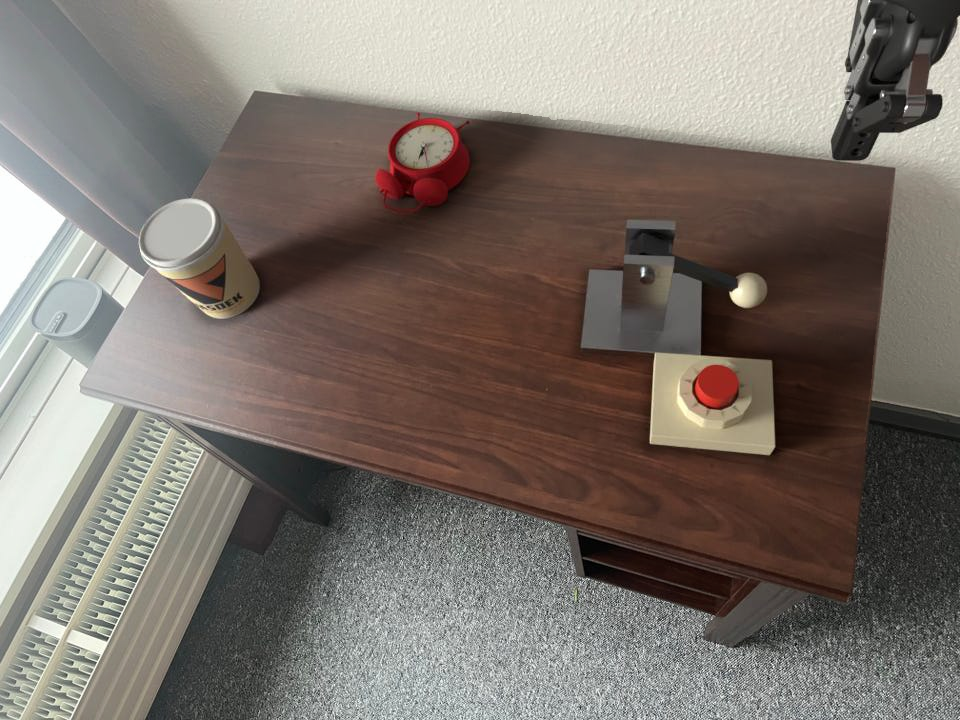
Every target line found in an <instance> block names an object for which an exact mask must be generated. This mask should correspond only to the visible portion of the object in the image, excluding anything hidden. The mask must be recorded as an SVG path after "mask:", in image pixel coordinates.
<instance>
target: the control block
mask: <svg viewBox="0 0 960 720" xmlns="http://www.w3.org/2000/svg"><path fill="white" fill-rule="evenodd" d="M710 365H723V366H726V367H728V368H730V369H731V370H732V371H733V372H734V373H735V374H736V376H737V378H738V381H739V386H738V390H737V392H736V394H735V397H734V399H733V401H732V402H731V403H730V404H729V405H727V406H725V407H722V408H711V407H708V406H706V405H704V404H703V403H701V402H700V401H699V399H698V398H697V396H696V393H695V385H696V382H697V379H698V375H699V373H700V372H701V371H702V370H703V369H704V368H705V367H707V366H710ZM652 370H653V371H652V389H651V408H650V427H649V428H650V429H649V444H650V445H659V446H670V447H680V448H690V449H700V450H701V449H702V450H711V451H721V452H733V453H734V452H735V453H742V454H743V453H744V454H754V455H764V456H771V454H772V453H773V451H774V450H775V448H776V428H775V427H776V426H775V404H774V402H775V401H774V376H773V373H774V372H773V360H771V359H760V358H759V359H757V358H743V357H728V356H715V355H702V354H701V355H686V354H671V353H657V352H656V353H655V358H653V369H652Z"/></svg>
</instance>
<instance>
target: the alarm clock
mask: <svg viewBox="0 0 960 720" xmlns="http://www.w3.org/2000/svg"><path fill="white" fill-rule="evenodd" d="M416 116H417V119H415V120H412V121H409V122H408V123H406V124H404V125H403V126H401V127H400V128H399V129H398V130H397V131H396V132H395V133H394V134H393V135H392V137H391V139H390V141H389V143H388V148H387V149H388V151H387V156H388V160H389V162H390V165H389V171H388V170H387V169H384V168H380V169H378V170H377V171H376V172H375V177H374V179H375V184H376V185H377V187H378V189H379V193H380V194H382V193H383V197H382V204H383V205H384V207H385V208H387V210H390V211H393V212H395V213H403V214H409V213H415V212H416V211H419V209H420V208H422V206H427V207H436V206H440V205H442V204H444V202H445V201H446V200H447V198H448V193H449V191H450V190H452V189H453V188H455V187H457V185H459V184H460V183H461V182H462V181H463V180H464V178H465V177H466V175H467V174H468V171H469V169H470V164H471V159H470V153H469V150H468V148H467V146H466V145H465V143H463V141H462V139H461V135H460V133H459V131H460V130H461V129H463V128H464V127H465V126H466V125H469V124H470V123H471V122H470V120H466V121H465V123H463V124H462V125H460V126H459V127H457V128H456V127H455V126H454V125H453V124H452V123H451V122H450V121H449V122H448V121H447V120H444V119H443V118H442V119H441V118H437V117H425V118H420V116H421V113H420V112H416ZM405 194H406V195H409V196H413V197H414V199H415V200H416V201H417V203H419V205H418V206H417V207H416V208H414V209H410V210H409V209H407V210H402V209H396V208H394V207H393V208H392V207H390V206H389V205H388V204H387V202H386V197H387V198H389V199H392V200H397V201H398V200H400V199H403V197H404V196H405Z"/></svg>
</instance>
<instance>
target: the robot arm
mask: <svg viewBox="0 0 960 720" xmlns="http://www.w3.org/2000/svg"><path fill="white" fill-rule="evenodd" d="M959 17H960V0H857V3H856V7H855V14H854V19H853V24H852V30H851V35H850V40H849V46H848V51H847V57H845V58H846V59H845V61H844V67H845V72H846V73H850V74H849V77H848V80H847V83H846V85H845V87H844V89H843V94H844V99H845V103H844V106H843V108H842V111H841V113H840V116H839V118H838V121H837V122H836V126H835V129H834V131H833V133H832V135H831V138H830V147H831V158H832V159H833V160H834V161H837V162H840V161H841V162H842V161H845V162H847V161H848V162H851V161H853V162H860V161H864V160H866V159H867V158H869V156H870V154H871V152H872V150H873V148H874V146H875V145H876V142H877V140H878V137H879V136H880V134H901V133H904V132H907V131H909V130H911V129H913V128H916V127H918V126H920V125H923V124H926V123H928V122H930V121H934V120H936V119H938V117H939V115H940V114H941V111H942V109H943V104H944V103H943V95H942V94H941V93H934V90H933V89H932V88H928V83H929V77H930V71H931V69H932V67H933V66H934V65H936V64H937V63H938V62H940V60H942V58H943V57H944V56H945V54H946V53H947V50H948V49H949V46H950V44H951V42H952V40H953V39H954V37H955V35H956V33H957V29H958V25H959V24H958V23H959V19H958V18H959Z"/></svg>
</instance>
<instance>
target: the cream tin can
mask: <svg viewBox="0 0 960 720" xmlns="http://www.w3.org/2000/svg"><path fill="white" fill-rule="evenodd" d="M138 247H139V252H140V255H141V257H142V260H144V262H145V263H146V264H147V265H148V266H150V267H151V268H153V269H155V270H156V271H157V272H158V273H159V274H160V275H161V276H162V277H163V278H164V279H165V280H166V281H168V282H169V283H170V284H171V285H172V286H174V288H176V289H177V290H178V291H179V292H180V293H181V294H182V295H184V297H186V299H188V300H189V301H190V302H191V303H193V304H194V305H195V306H196V307H197V308H198V309H200V310H201V311H202V312H203V313H204V314H206V315H207V316H209V317H211V318H214V319H219V320H220V319H221V320H222V319H223V320H224V319H230V318H233V317H236V316H238V315H241V314H242V313H244V312H245V311H247V310H248V309H249V308H250V307H251V306H253V304H254V302H255V301H256V299H257V298H258V295H259V293H260V288H261V287H260V285H261V284H260V283H261V282H260V279H259V276H258V274H257V273H256V270H255V269H254V266H252V264H251V262H250V261H249V259H248V257H247V256H246V254H245V252H244V251H243V249H242V247H241V245H240V244H239V242H238V240H237V239H236V237H235V236H234V234H233V232H232V231H231V229H230V228H229V226H228V224H227V223H226V221H225V219H224V217H223V215H222V213H221V211H220V210H219V209H218V207H216V206H215V205H213V204H212V203H210V202H208V201H205V200H204V199H200V198H191V197H190V198H182V199H177V200H174V201H171V202H169V203H167V204H165V205H163V206H161V207H160V208H158V209H157V210H155V212H154V213H152V215H150V216H149V217H148V218H147V220H146V221H145V222H144V224H143V225H142V228H141V230H140V233H139V237H138Z"/></svg>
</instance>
